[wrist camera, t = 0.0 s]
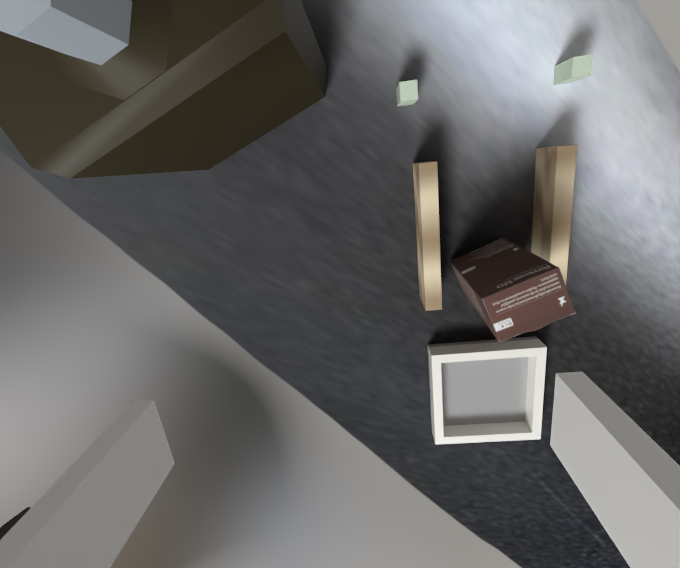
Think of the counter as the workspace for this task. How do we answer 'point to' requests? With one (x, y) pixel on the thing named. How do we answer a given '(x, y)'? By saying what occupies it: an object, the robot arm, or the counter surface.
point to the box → (512, 288)
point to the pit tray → (487, 390)
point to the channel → (547, 224)
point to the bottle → (151, 80)
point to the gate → (562, 74)
